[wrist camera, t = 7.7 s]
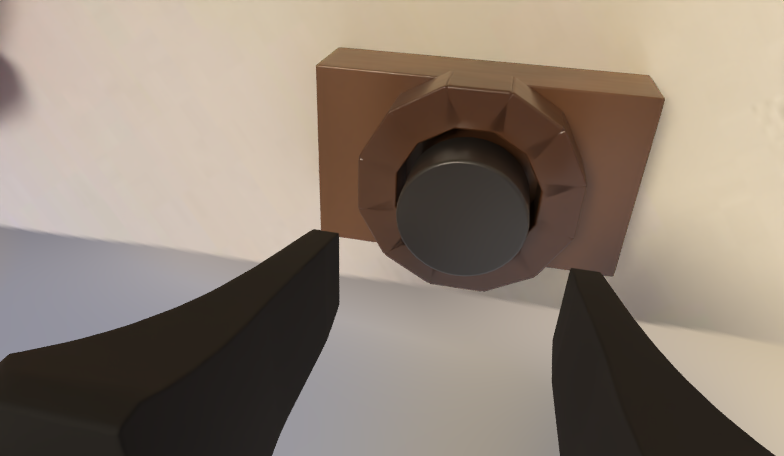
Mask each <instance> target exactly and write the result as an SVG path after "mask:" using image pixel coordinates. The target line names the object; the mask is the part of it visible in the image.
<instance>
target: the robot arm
mask: <svg viewBox="0 0 784 456" xmlns="http://www.w3.org/2000/svg"><path fill="white" fill-rule="evenodd" d="M338 307H339V233H335V232H328V231H322V230H315V229H313V230H312V231H310V232H308V233H307V234H305V235H303V236H302V237H300V238H299V239H297V240H296V241H294V242H293V243H291V244H290V245H288V246H287V247H285V248H284V249H282V250H281V251H279V252H278V253H276V254H274V255H273V256H271V257H270V258H268V259H267V260H265V261H263V262H262V263H260V264H259V265H257V266H256V267H254V268H252V269H251V270H249V271H247V272H245V273H244V274H242V275H240V276H238V277H236V278H235V279H233V280H231V281H229V282H228V283H226V284H224V285H222V286H221V287H219V288H217V289H215V290H213V291H211V292H209V293H207V294H205V295H203V296H201V297H199V298H196V299H194V300H192V301H190V302H187V303H185V304H183V305H181V306H178V307H176V308H174V309H171V310H168V311H166V312H163V313H160V314H157V315H155V316H152V317H149V318H147V319H144V320H141V321H139V322H136V323H133V324H130V325H127V326H124V327H121V328H117V329H114V330H111V331H107V332H104V333H100V334H97V335H93V336H90V337H86V338H82V339H78V340H74V341H70V342H66V343H61V344H56V345H51V346H47V347H42V348H37V349H32V350H27V351H23V352H17V353H12V354H9V355H8V356H6V357H5V358H4V359H3V360H2V361H1V362H0V456H272V454H273V451H274V449H275V446H276V443H277V441H278V438H279V436H280V433H281V431H282V429H283V427H284V424H285V422H286V420H287V418H288V416H289V414H290V412H291V410H292V408H293V406H294V404H295V402H296V400H297V398H298V396H299V394H300V392H301V390H302V389H303V386H304V385H305V382H306V380H307V379H308V377H309V375H310V373H311V371H312V369H313V367H314V365H315V363H316V361H317V359H318V357H319V355H320V353H321V351H322V349H323V347H324V345H325V343H326V341H327V338H328V336H329V332H330V330H331V327H332V324H333V322H334V318H335V316H336V313H337V310H338ZM552 387H553V397H554V406H555V415H556V424H557V433H558V441H559V451H560V456H775V455H774V454H772V453H771V452H770V451H768V450H767V449H766V448H764V447H763V446H762V445H760V444H759V443H758V442H757V441H755V440H754V439H753V438H752V437H750V436H749V435H748V434H747V433H746V432H744V431H743V430H742V429H741V428H739V427H738V426H737V425H736V424H735V423H733V422H732V421H731V420H729V419H728V418H727V417H726V416H725V415H724V414H722V412H720V411H719V410H718V409H717V408H716V407H715V406H714V405H712V404H711V403H710V402H709V401H708V400H707V399H706V398H705V397H704V396H703V395H702V394H701V393H700V392H699V391H698V390H697V389H696V388H695V387H693V386H692V385H691V384H690V383H689V382H688V381H687V380H686V379H685V378H684V377H683V376H682V375H681V374H680V373H679V372H678V370H677V369H676V368H675V367H674V366H673V365H672V364H671V363H670V362H669V361H668V359H666V357H665V356H664V355H663V354H662V353H661V352H660V351H659V350H658V348H657V347H656V346H655V345H654V343H653V342H652V341H651V340H650V339H649V337H648V336H647V335H646V334H645V332H644V331H643V330H642V329H641V327H640V326H639V325H638V323H637V322H636V321H635V320H634V318H633V317H632V316H631V314H630V313H629V311H628V310H627V309H626V307H625V306H624V305H623V303H622V302H621V300H620V299H619V298H618V296H617V295H616V293H615V292H614V290H613V289H612V288H611V286H610V285H609V283H608V282H607V281H606V279H605V278H604V276H603V275H602V274H601V272H597V271H590V270H583V269H576V268H571V269H570V273H569V277H568V281H567V285H566V289H565V293H564V297H563V301H562V305H561V309H560V313H559V317H558V321H557V325H556V329H555V333H554V337H553V347H552Z"/></svg>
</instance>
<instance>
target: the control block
mask: <svg viewBox="0 0 784 456" xmlns="http://www.w3.org/2000/svg"><path fill="white" fill-rule="evenodd" d="M316 80H317V112H318V145H319V178H320V211H321V230H322V231H328V232H335V233H339V237H344V238H351V239H358V240H364V241H371V242H377V243H378V245H379V246H380V248H381V250H382V252H383V253H385V255H386V256H388V257H389V258H391V259H392V260H394V261H395V262H397V263H398V264H400V265H401V266H403V267H404V268H406V269H408V270H409V271H411V272H412V273H414V274H415V275H417V276H418V277H420V278H421V279H423V280H424V281H426V282H429V283H430V284H436V285H442V286H449V287H455V288H462V289H468V290H475V291H487V290H491V289H494V288H498V287H501V286H505V285H508V284H512V283H515V282H519V281H522V280H526V279H529V278H533V277H535V276H536V275H537V274H539V273H540V272H541V271H542V270H543V269H544V268H545V267H550V268H557V269H564V270H570V269H571V268H576V269H583V270H590V271H597V272H601V274H602V275H605V276H614V273H615V269H616V266H617V262H618V259H619V255H620V252H621V249H622V245H623V242H624V238H625V235H626V231H627V228H628V225H629V221H630V218H631V214H632V211H633V208H634V204H635V201H636V197H637V194H638V190H639V187H640V184H641V180H642V177H643V173H644V170H645V166H646V163H647V160H648V156H649V153H650V149H651V146H652V142H653V139H654V136H655V132H656V129H657V125H658V122H659V118H660V115H661V112H662V108H663V105H664V101H665V98H664V97H663V95H662V94H661V92H660V91H659V89H658V88H657V86H656V84H655V83H654V81H653V80H652V78H651V77H650V76H649V75H639V74H628V73H617V72H606V71H595V70H584V69H573V68H562V67H551V66H540V65H529V64H517V63H506V62H495V61H484V60H473V59H462V58H451V57H440V56H429V55H418V54H407V53H396V52H385V51H374V50H363V49H352V48H341V47H339V48H337V49H336V50H335V51H334V52H332V53H331V54H330V55H328V56H327V57H326V58H325V59H323V60H322V61H321V62H320V63H318V64H317V65H316ZM457 137H474V138H480V139H484V140H487V141H490V142H493V143H495V144H497V145H499V146H501V147H502V148H504V149H505V150H507V151H508V152H509V153H510V154H512V156H513V157H514V158H515V159H516V160H517V161H518V162H519V164H520V165H521V167H522V168H523V170H524V172H525V174H526V177H527V180H528V184H529V192H530V223H529V231H528V234H527V238H526V240H525V242H524V244H523V246H522V248H521V249H520V251H519V252H518V253H517V254H516V255H515V257H514V258H512V259H511V260H510V261H509V262H508V263H506V264H505V265H504V266H502V267H500V268H498V269H496V270H494V271H492V272H489V273H486V274H482V275H476V276H455V275H450V274H446V273H443V272H440V271H437V270H435V269H433V268H431V267H429V266H427V265H425V264H424V263H423V262H421V261H420V260H419V259H417V258H416V257H415V256H414V255H413V254H412V253H411V252H410V250H409V249H408V248H407V246H406V245H405V243H404V242H403V240H402V238H401V235H400V233H399V230H398V227H397V221H396V207H397V202H398V198H399V196H400V193H401V191H402V189H403V186H404V184H405V182H406V180H407V177H408V175H409V173H410V171H411V168H412V166H413V165H414V163H415V162H416V160H417V159H418V158H419V157H420V155H421V154H422V153H424V152H425V151H426V150H427V149H429V148H430V147H432V146H433V145H435V144H437V143H439V142H441V141H444V140H447V139H452V138H457Z"/></svg>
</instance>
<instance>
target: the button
mask: <svg viewBox="0 0 784 456" xmlns="http://www.w3.org/2000/svg"><path fill="white" fill-rule="evenodd" d="M396 221H397V227H398V230H399V233H400V235H401V238H402V240H403V242H404V243H405V245H406V246H407V248H408V249H409V250H410V252H411V253H412V254H413V255H414V256H415V257H416V258H417V259H419V260H420V261H421V262H423V263H424V264H425V265H427V266H429V267H431V268H433V269H435V270H437V271H440V272H443V273H446V274H450V275H455V276H476V275H482V274H486V273H489V272H492V271H494V270H496V269H498V268H500V267H502V266H504V265H505V264H506V263H508V262H509V261H510V260H511V259H512V258H514V257H515V255H516V254H517V253H518V252H519V251H520V249H521V248H522V246H523V244H524V242H525V240H526V238H527V234H528V231H529V223H530V192H529V184H528V180H527V177H526V174H525V172H524V170H523V168H522V167H521V165H520V164H519V162H518V161H517V160H516V159H515V158H514V157H513V156H512V154H510V153H509V152H508V151H507V150H505V149H504V148H502V147H501V146H499V145H497V144H495V143H493V142H490V141H487V140H484V139H480V138H474V137H457V138H452V139H447V140H444V141H441V142H439V143H437V144H435V145H433V146H432V147H430V148H429V149H427V150H426V151H425V152H424V153H422V154H421V155H420V157H419V158H418V159H417V160H416V162H415V163H414V165H413V166H412V168H411V171H410V173H409V175H408V177H407V180H406V182H405V184H404V186H403V189H402V191H401V193H400V196H399V198H398V202H397V207H396Z"/></svg>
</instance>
